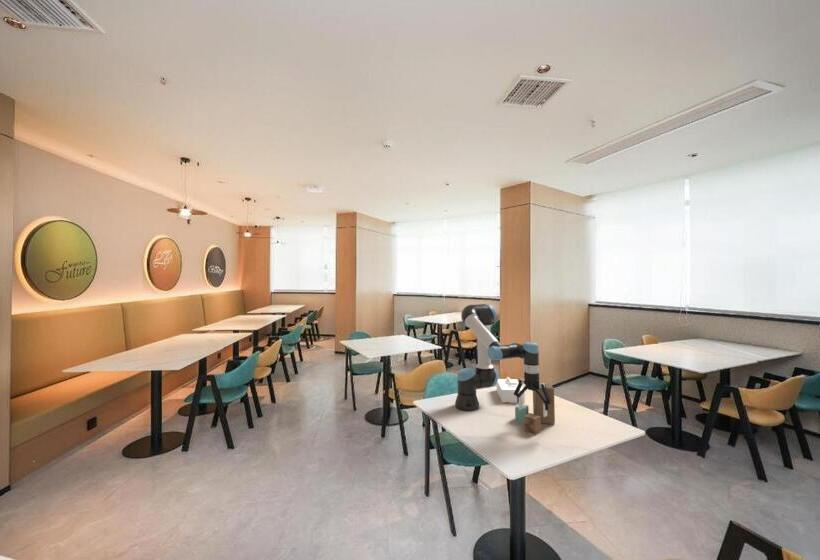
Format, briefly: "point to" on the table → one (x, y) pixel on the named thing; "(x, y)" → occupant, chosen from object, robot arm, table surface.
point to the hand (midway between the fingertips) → (532, 412)
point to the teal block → (521, 413)
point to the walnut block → (532, 423)
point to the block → (539, 405)
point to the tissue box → (508, 390)
